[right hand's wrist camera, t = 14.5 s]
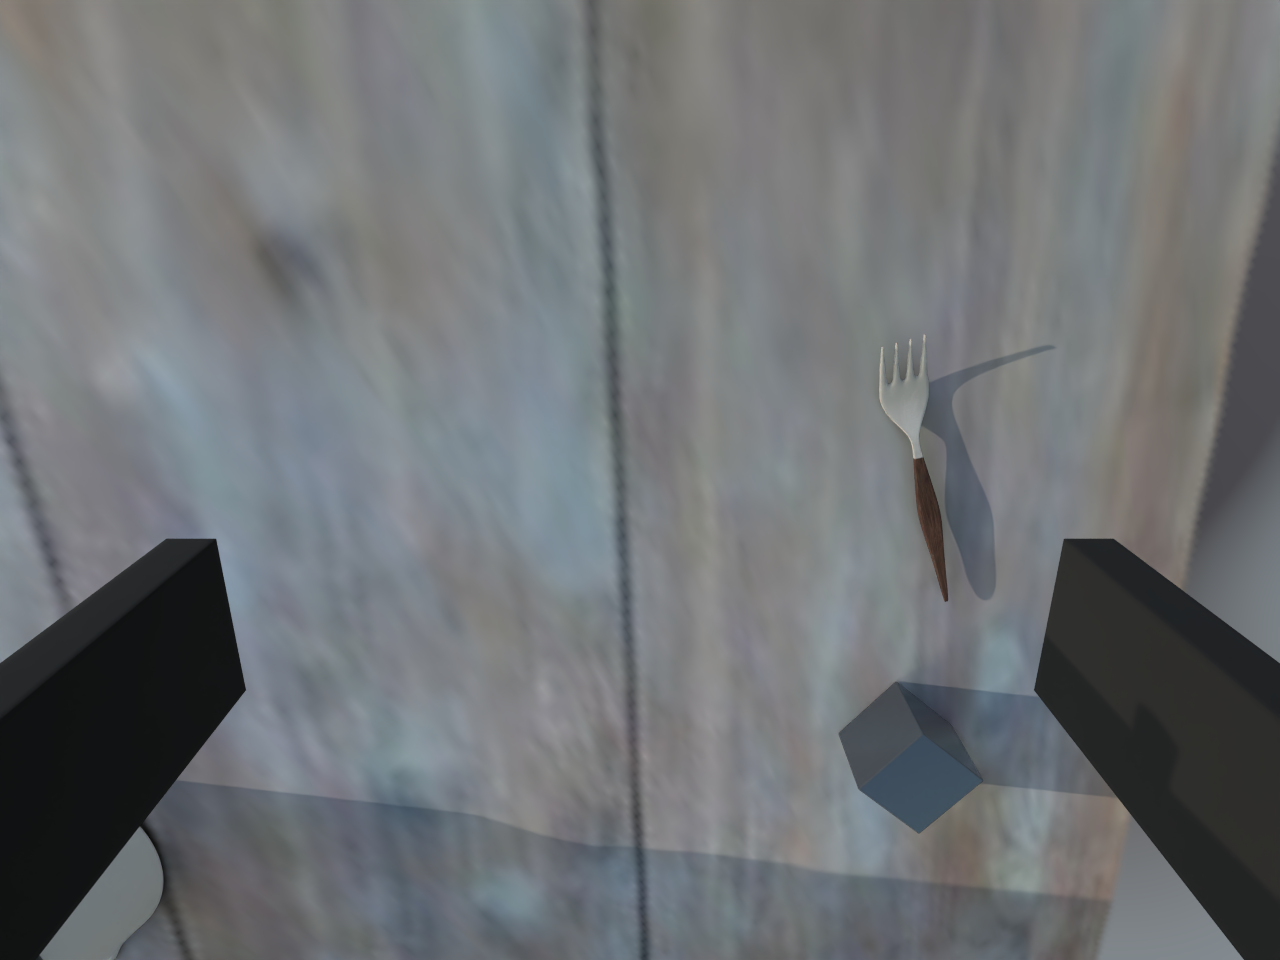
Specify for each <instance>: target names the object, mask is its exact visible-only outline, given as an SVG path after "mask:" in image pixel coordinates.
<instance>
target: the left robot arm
mask: <svg viewBox="0 0 1280 960" xmlns="http://www.w3.org/2000/svg"><path fill="white" fill-rule="evenodd" d="M162 892H163V870H162V866H161V862H160V859H159V856H158V854H157V851H156V849H155V847H154V845H153V844H152V842H151V840H150V839H149V837H148V836H147V834H146V833H145V832H144V830H143V829H142V828H141V827H139V828H138V829H137V831H136V832H135V833H134V834H133V836H132V837H131V838H130V840H129V841H128V842H127V843H126V845H125V846H124V847H123V849H122V850H121V851H120V852H119V854H118V855H117V856H116V858H115V859H114V860H113V861H112V863H111V864H110V865H109V867H108V868H107V869H106V870H105V872H104V873H103V874H102V876H101V877H100V878H99V879H98V881H97V882H96V883H95V885H94V886H93V887H92V888H91V890H90V891H89V892H88V894H87V895H86V896H85V897H84V899H83V900H82V901H81V903H80V904H79V905H78V906H77V908H76V909H75V910H74V911H73V913H72V914H71V915H70V917H69V918H68V919H67V920H66V922H65V923H64V924H63V926H62V927H61V928H60V929H59V931H58V932H57V933H56V935H55V936H54V937H53V938H52V940H51V941H50V942H49V944H48V945H47V946H46V947H45V949H44V950H43V951H42V953H41V954H40V955H39V956H38V958H37V959H36V960H115V958H116V956H117V955H118V952H119V950H120V948H121V945H122V944H123V943H124V942H125V941H126V940H127V939H128V938H129V937H130V936H131V935H132V934H133V933H134V932H135V931H136V930H137V929H138V928H139V927H141V926H142V925H143V924H144V923H145V922H146V921H147V920H148V919H149V918H150V917H151V915H152V914H153V913H154V911H155V910H156V908H157V906H158V904H159V902H160V899H161V896H162Z"/></svg>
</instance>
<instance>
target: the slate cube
mask: <svg viewBox="0 0 1280 960" xmlns="http://www.w3.org/2000/svg"><path fill="white" fill-rule="evenodd" d="M839 737H840V739H841V742H842V745H843V748H844V750H845V753H846V756H847V759H848V761H849V764H850V767H851V770H852V773H853V775H854V778H855V781H856V784H857V786H858V789H859V790H860V791H861V792H863V793H864V794H866V795H867V796H868V797H870V798H871V799H872V800H874V801H875V802H876V803H878V804H879V805H880V806H882V807H883V808H885V809H886V810H887V811H889V812H890V813H891V814H893V815H894V816H895V817H897V818H898V819H900V820H901V821H902V822H904V823H905V824H906V825H908V826H909V827H910V828H912V829H913V830H914V831H916V832H917V833H921V832H922V831H923V830H924V829H925V828H927V827H928V826H929V825H930V824H931V823H933V822H934V821H935V820H936V819H938V818H939V817H940V816H941V815H942V814H944V813H945V812H946V811H947V810H948V809H950V808H951V807H952V806H953V805H955V804H956V803H957V802H958V801H959V800H961V799H962V798H963V797H964V796H965V795H967V794H968V793H969V792H970V791H972V790H973V789H974V788H975V787H976V786H978V785H979V784H980V783H981V782H982V781H983V779H982V777H981V775H980V774H979V772H978V770H977V768H976V767H975V765H974V763H973V761H972V760H971V758H970V756H969V755H968V753H967V751H966V749H965V748H964V746H963V744H962V742H961V741H960V739H959V737H958V735H957V734H956V732H955V730H954V728H953V727H952V725H951V724H949V723H948V722H947V721H946V720H944V719H943V718H942V717H941V716H939V715H938V714H937V713H935V712H934V711H933V710H932V709H930V708H929V707H928V706H927V705H925V704H924V703H923V702H922V701H920V700H919V699H918V698H916V697H915V696H914V695H913V694H911V693H910V692H909V691H908V690H906V689H905V688H904V687H903V686H901V685H900V684H899V683H897V682H895V683H894V684H893V685H892V686H891V687H890V688H888V689H887V690H886V691H885V692H884V693H883V694H882V695H881V696H880V697H878V698H877V699H876V700H875V701H874V702H873V703H872V704H871V705H870V706H868V707H867V708H866V709H865V710H864V711H863V712H862V713H861V714H860V715H858V716H857V717H856V718H855V719H854V720H853V721H852V722H851V723H850V724H848V725H847V726H846V727H845V728H844V729H843V730H842V731H841V732H840V733H839Z"/></svg>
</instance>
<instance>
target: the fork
mask: <svg viewBox="0 0 1280 960" xmlns="http://www.w3.org/2000/svg"><path fill="white" fill-rule="evenodd" d="M879 396H880V402H881V405H882V408H883V409H884V411H885V412H886V414H887V415H888V416H889V417H890V418H891V420H892V421H893V422H894V423H896V424H897V425H898V426H899V427H900V428H901V429H902V430H903V431H904V432H905V433H906V435H907V436H908V437H909V439H910V441H911V444H912V449H913V460H914V475H915V490H916V502H917V510H918V515H919V520H920V524H921V527H922V530H923V533H924V537H925V540H926V542H927V545H928V548H929V551H930V554H931V558H932V561H933V564H934V568H935V571H936V574H937V578H938V581H939V585H940V588H941V592H942V595H943V598H944V601H945V602H946V601H948V591H947V580H946V570H945V559H944V546H943V531H942V521H941V515H940V510H939V506H938V502H937V499H936V495H935V492H934V489H933V486H932V483H931V480H930V477H929V473H928V470H927V467H926V464H925V461H924V458H923V455H922V451H921V448H920V443H919V433H920V428H921V424H922V421H923V417H924V414H925V411H926V407H927V403H928V397H929V381H928V374H927V357H926V335H925V334H924V337H923V345H922V353H921V364H920V372H919V375H918V376H915V375H914V372H913V357H912V340H911V339H910V341H909V349H908V359H907V372H906V378H905V379H904V380H901V378H900V371H899V359H898V344H897V343H896V344H895V354H894V367H893V380H892V382H891V384H888V383H887V380H886V371H885V361H884V347H881V360H880V388H879Z"/></svg>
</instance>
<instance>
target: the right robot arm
mask: <svg viewBox="0 0 1280 960" xmlns="http://www.w3.org/2000/svg"><path fill="white" fill-rule="evenodd" d="M245 691H246V688H245V683H244V678H243V673H242V668H241V663H240V658H239V653H238V648H237V643H236V638H235V633H234V628H233V623H232V617H231V612H230V607H229V602H228V597H227V592H226V587H225V582H224V577H223V572H222V567H221V562H220V557H219V551H218V546H217V541H216V539H166V540H164V541H163V542H162V543H160V544H159V545H158V546H156V547H155V548H154V549H152V550H151V551H150V552H148V553H147V554H146V555H144V556H143V557H142V558H140V559H139V560H138V561H136V562H135V563H134V564H132V565H131V566H130V567H128V568H127V569H126V570H124V571H123V572H122V573H120V574H119V575H118V576H116V577H115V578H114V579H112V580H111V581H110V582H108V583H107V584H106V585H104V586H103V587H102V588H100V589H99V590H98V591H96V592H95V593H94V594H92V595H91V596H90V597H88V598H87V599H86V600H84V601H83V602H82V603H80V604H79V605H78V606H76V607H75V608H74V609H72V610H71V611H70V612H68V613H67V614H66V615H64V616H63V617H62V618H60V619H59V620H58V621H56V622H55V623H54V624H52V625H51V626H50V627H48V628H47V629H46V630H44V631H43V632H41V633H40V634H39V635H37V636H36V637H35V638H33V639H32V640H31V641H29V642H28V643H27V644H25V645H24V646H23V647H21V648H20V649H19V650H17V651H16V652H15V653H13V654H12V655H11V656H9V657H8V658H7V659H5V660H4V661H3V662H1V663H0V960H36V959H37V958H38V956H39V955H40V954H41V953H42V951H43V950H44V949H45V947H46V946H47V945H48V944H49V942H50V941H51V940H52V938H53V937H54V936H55V935H56V933H57V932H58V931H59V929H60V928H61V927H62V926H63V924H64V923H65V922H66V920H67V919H68V918H69V917H70V915H71V914H72V913H73V911H74V910H75V909H76V908H77V906H78V905H79V904H80V903H81V901H82V900H83V899H84V897H85V896H86V895H87V894H88V892H89V891H90V890H91V888H92V887H93V886H94V885H95V883H96V882H97V881H98V879H99V878H100V877H101V876H102V874H103V873H104V872H105V870H106V869H107V868H108V867H109V865H110V864H111V863H112V861H113V860H114V859H115V858H116V856H117V855H118V854H119V852H120V851H121V850H122V849H123V847H124V846H125V845H126V843H127V842H128V841H129V840H130V838H131V837H132V836H133V834H134V833H135V832H136V831H137V829H138V828H139V827H140V825H141V824H142V823H143V822H144V820H145V819H146V818H147V816H148V815H149V814H150V813H151V811H152V810H153V809H154V807H155V806H156V805H157V804H158V802H159V801H160V800H161V798H162V797H163V796H164V795H165V793H166V792H167V791H168V790H169V788H170V787H171V786H172V784H173V783H174V782H175V781H176V779H177V778H178V777H179V775H180V774H181V773H182V772H183V770H184V769H185V768H186V766H187V765H188V764H189V763H190V761H191V760H192V759H193V757H194V756H195V755H196V754H197V752H198V751H199V750H200V748H201V747H202V746H203V745H204V743H205V742H206V741H207V739H208V738H209V737H210V736H211V734H212V733H213V732H214V730H215V729H216V728H217V727H218V725H219V724H220V723H221V721H222V720H223V719H224V718H225V716H226V715H227V714H228V712H229V711H230V710H231V709H232V707H233V706H234V705H235V703H236V702H237V701H238V700H239V698H240V697H241V696H242V694H243V693H244V692H245ZM1034 691H1035V692H1036V693H1037V694H1038V696H1039V697H1040V698H1041V700H1042V701H1043V702H1044V703H1045V705H1046V706H1047V707H1048V709H1049V710H1050V711H1051V712H1052V714H1053V715H1054V716H1055V718H1056V719H1057V720H1058V721H1059V723H1060V724H1061V725H1062V727H1063V728H1064V729H1065V730H1066V732H1067V733H1068V734H1069V736H1070V737H1071V738H1072V739H1073V741H1074V742H1075V743H1076V745H1077V746H1078V747H1079V748H1080V750H1081V751H1082V752H1083V754H1084V755H1085V756H1086V757H1087V759H1088V760H1089V761H1090V763H1091V764H1092V765H1093V766H1094V768H1095V769H1096V770H1097V772H1098V773H1099V774H1100V775H1101V777H1102V778H1103V779H1104V781H1105V782H1106V783H1107V784H1108V786H1109V787H1110V788H1111V790H1112V791H1113V792H1114V793H1115V795H1116V796H1117V797H1118V798H1119V800H1120V801H1121V802H1122V804H1123V805H1124V806H1125V807H1126V809H1127V810H1128V811H1129V813H1130V814H1131V815H1132V816H1133V818H1134V819H1135V820H1136V822H1137V823H1138V824H1139V825H1140V827H1141V828H1142V829H1143V831H1144V832H1145V833H1146V834H1147V836H1148V837H1149V838H1150V840H1151V841H1152V842H1153V843H1154V845H1155V846H1156V847H1157V848H1158V850H1159V851H1160V852H1161V854H1162V855H1163V856H1164V858H1165V859H1166V860H1167V861H1168V863H1169V864H1170V865H1171V867H1172V868H1173V869H1174V870H1175V872H1176V873H1177V874H1178V876H1179V877H1180V878H1181V879H1182V881H1183V882H1184V883H1185V884H1186V886H1187V887H1188V888H1189V890H1190V891H1191V892H1192V893H1193V895H1194V896H1195V897H1196V899H1197V900H1198V901H1199V903H1200V904H1201V905H1202V906H1203V908H1204V909H1205V910H1206V911H1207V913H1208V914H1209V915H1210V917H1211V918H1212V919H1213V920H1214V922H1215V923H1216V924H1217V926H1218V927H1219V928H1220V929H1221V931H1222V932H1223V933H1224V935H1225V936H1226V937H1227V938H1228V940H1229V941H1230V942H1231V944H1232V945H1233V946H1234V947H1235V949H1236V950H1237V951H1238V953H1239V954H1240V955H1241V956H1242V958H1243V959H1244V960H1280V663H1278V662H1277V661H1276V660H1275V659H1273V658H1272V657H1271V656H1269V655H1268V654H1266V653H1265V652H1264V651H1262V650H1261V649H1260V648H1259V647H1257V646H1256V645H1254V644H1253V643H1252V642H1251V641H1249V640H1248V639H1246V638H1245V637H1244V636H1242V635H1241V634H1240V633H1238V632H1237V631H1236V630H1234V629H1233V628H1232V627H1230V626H1229V625H1228V624H1226V623H1225V622H1224V621H1222V620H1221V619H1220V618H1218V617H1217V616H1216V615H1214V614H1213V613H1212V612H1210V611H1209V610H1208V609H1206V608H1205V607H1204V606H1202V605H1201V604H1200V603H1198V602H1197V601H1196V600H1194V599H1193V598H1192V597H1190V596H1189V595H1188V594H1186V593H1185V592H1184V591H1182V590H1181V589H1180V588H1178V587H1177V586H1176V585H1174V584H1173V583H1172V582H1170V581H1169V580H1168V579H1166V578H1165V577H1164V576H1162V575H1161V574H1160V573H1158V572H1157V571H1156V570H1154V569H1153V568H1152V567H1150V566H1149V565H1148V564H1146V563H1145V562H1144V561H1142V560H1141V559H1140V558H1138V557H1137V556H1136V555H1134V554H1133V553H1132V552H1130V551H1129V550H1128V549H1126V548H1125V547H1124V546H1122V545H1121V544H1120V543H1118V542H1117V541H1116V540H1114V539H1064V541H1063V546H1062V551H1061V557H1060V562H1059V567H1058V572H1057V577H1056V582H1055V587H1054V592H1053V597H1052V602H1051V607H1050V612H1049V617H1048V623H1047V628H1046V633H1045V638H1044V643H1043V648H1042V653H1041V658H1040V663H1039V668H1038V673H1037V678H1036V683H1035V688H1034Z"/></svg>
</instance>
